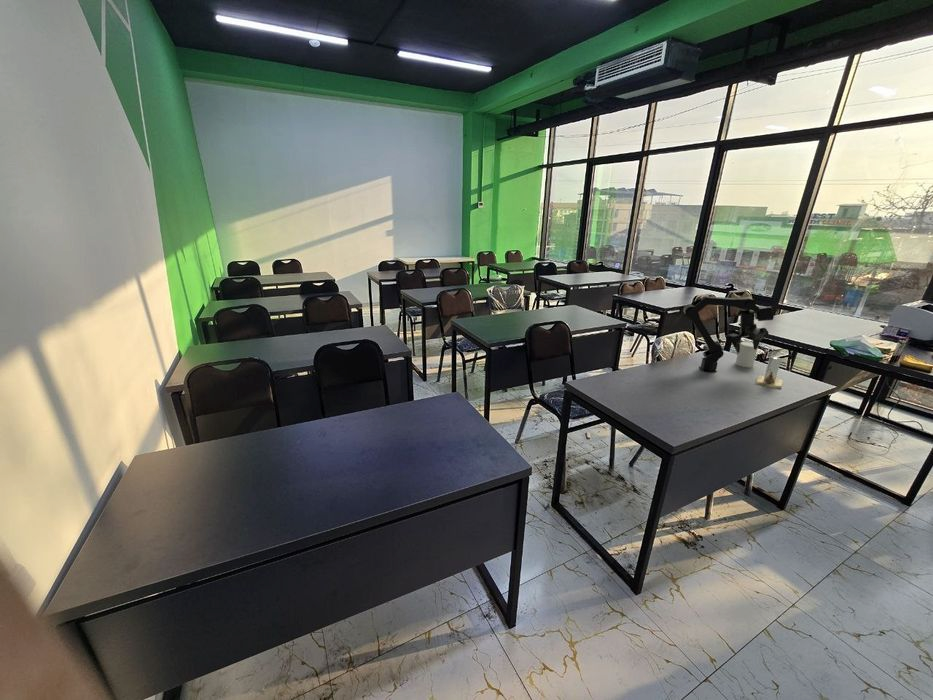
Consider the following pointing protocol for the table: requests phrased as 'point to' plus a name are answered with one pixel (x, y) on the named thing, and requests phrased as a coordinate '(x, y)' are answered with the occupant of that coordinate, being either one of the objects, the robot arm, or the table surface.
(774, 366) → the silver metal cylinder
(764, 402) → the table surface
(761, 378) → the peg rack
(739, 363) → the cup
